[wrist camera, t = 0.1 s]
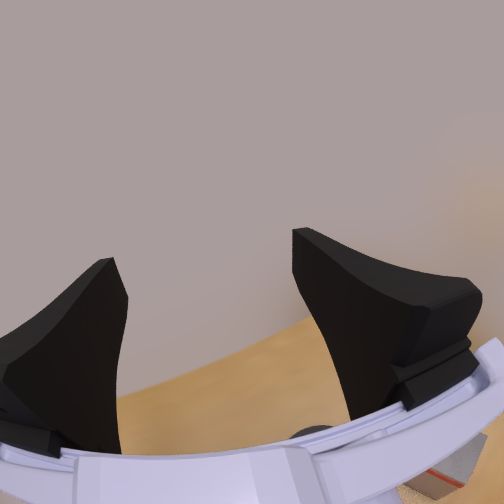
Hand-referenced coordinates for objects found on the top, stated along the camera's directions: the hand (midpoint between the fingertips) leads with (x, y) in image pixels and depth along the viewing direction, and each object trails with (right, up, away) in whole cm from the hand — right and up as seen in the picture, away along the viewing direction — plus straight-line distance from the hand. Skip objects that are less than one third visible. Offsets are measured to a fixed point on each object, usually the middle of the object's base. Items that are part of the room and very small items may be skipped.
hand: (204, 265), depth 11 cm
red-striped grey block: (+19, -20, +5) cm, 28 cm away
